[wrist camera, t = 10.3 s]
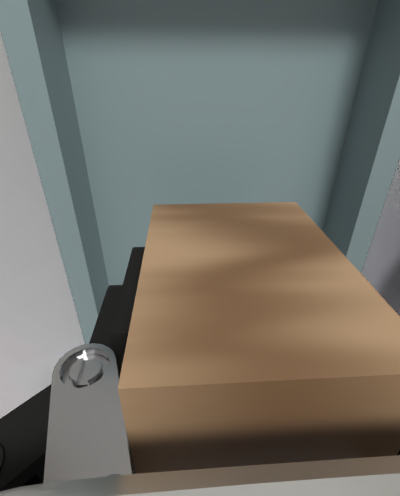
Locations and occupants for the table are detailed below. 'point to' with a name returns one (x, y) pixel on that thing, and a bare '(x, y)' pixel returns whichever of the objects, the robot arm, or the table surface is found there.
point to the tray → (203, 116)
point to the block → (255, 344)
